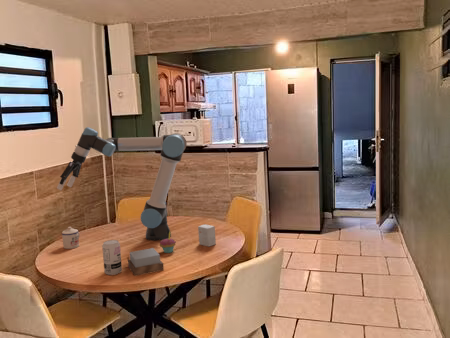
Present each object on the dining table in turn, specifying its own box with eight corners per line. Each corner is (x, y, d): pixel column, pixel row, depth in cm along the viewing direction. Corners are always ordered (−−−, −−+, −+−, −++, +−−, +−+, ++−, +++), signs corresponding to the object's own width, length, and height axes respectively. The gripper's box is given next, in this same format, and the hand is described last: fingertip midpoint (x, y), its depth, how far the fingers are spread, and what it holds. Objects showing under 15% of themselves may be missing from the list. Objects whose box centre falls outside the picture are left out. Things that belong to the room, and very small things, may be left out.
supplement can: (106, 269, 215) (103, 240, 213) (123, 268, 216) (120, 239, 214) (103, 276, 207) (100, 245, 205) (120, 274, 208) (118, 244, 206)
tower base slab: (155, 262, 224) (155, 254, 224) (163, 271, 212) (163, 263, 211) (128, 267, 219) (127, 259, 218) (134, 277, 206) (134, 268, 205)
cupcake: (178, 249, 241) (177, 228, 239) (171, 254, 233) (170, 232, 231) (164, 248, 244) (163, 227, 242) (157, 253, 236) (155, 231, 234)
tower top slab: (153, 255, 223) (153, 248, 222) (160, 262, 212) (159, 254, 211) (130, 259, 218) (129, 252, 217) (135, 267, 207) (134, 259, 206)
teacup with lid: (72, 249, 249) (70, 229, 247) (59, 248, 252) (57, 228, 250) (86, 243, 260) (84, 224, 258) (73, 242, 263) (71, 223, 261)
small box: (216, 244, 247) (215, 226, 245) (208, 247, 243) (208, 228, 241) (205, 241, 252) (205, 223, 251) (198, 244, 248) (197, 226, 247)
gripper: (82, 150, 257) (67, 182, 259) (65, 151, 233) (48, 187, 234) (93, 156, 257) (78, 188, 259) (77, 158, 233) (60, 193, 234)
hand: (64, 187), depth 247 cm, fingers open, 13 cm apart
